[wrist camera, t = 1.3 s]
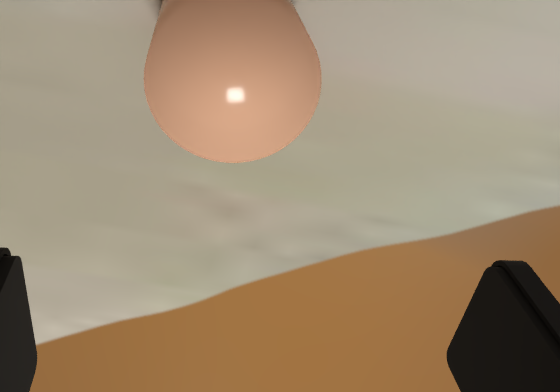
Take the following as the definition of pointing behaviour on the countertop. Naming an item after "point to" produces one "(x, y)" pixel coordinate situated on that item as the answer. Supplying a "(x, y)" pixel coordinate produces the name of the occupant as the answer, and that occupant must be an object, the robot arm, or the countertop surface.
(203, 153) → the peach capsule cylinder
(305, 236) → the countertop surface
